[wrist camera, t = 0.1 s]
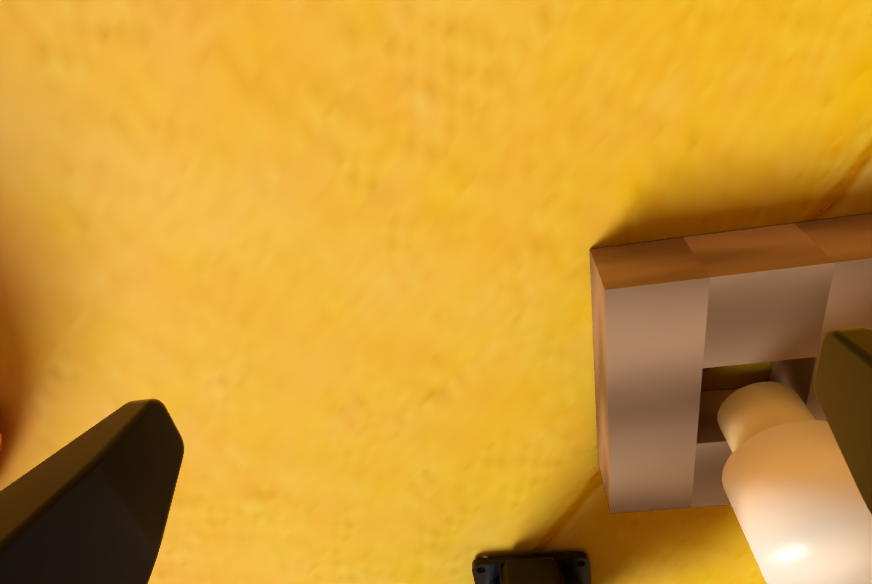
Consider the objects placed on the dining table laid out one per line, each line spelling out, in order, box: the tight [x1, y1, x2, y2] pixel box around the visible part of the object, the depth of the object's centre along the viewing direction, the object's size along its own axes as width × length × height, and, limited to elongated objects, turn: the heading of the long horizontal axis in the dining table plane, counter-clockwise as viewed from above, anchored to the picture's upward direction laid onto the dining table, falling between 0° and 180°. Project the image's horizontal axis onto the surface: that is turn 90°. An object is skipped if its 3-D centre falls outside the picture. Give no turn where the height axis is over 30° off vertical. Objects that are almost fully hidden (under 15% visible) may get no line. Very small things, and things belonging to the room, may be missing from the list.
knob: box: [717, 382, 872, 584], centre depth 20 cm, size 5×5×6 cm
